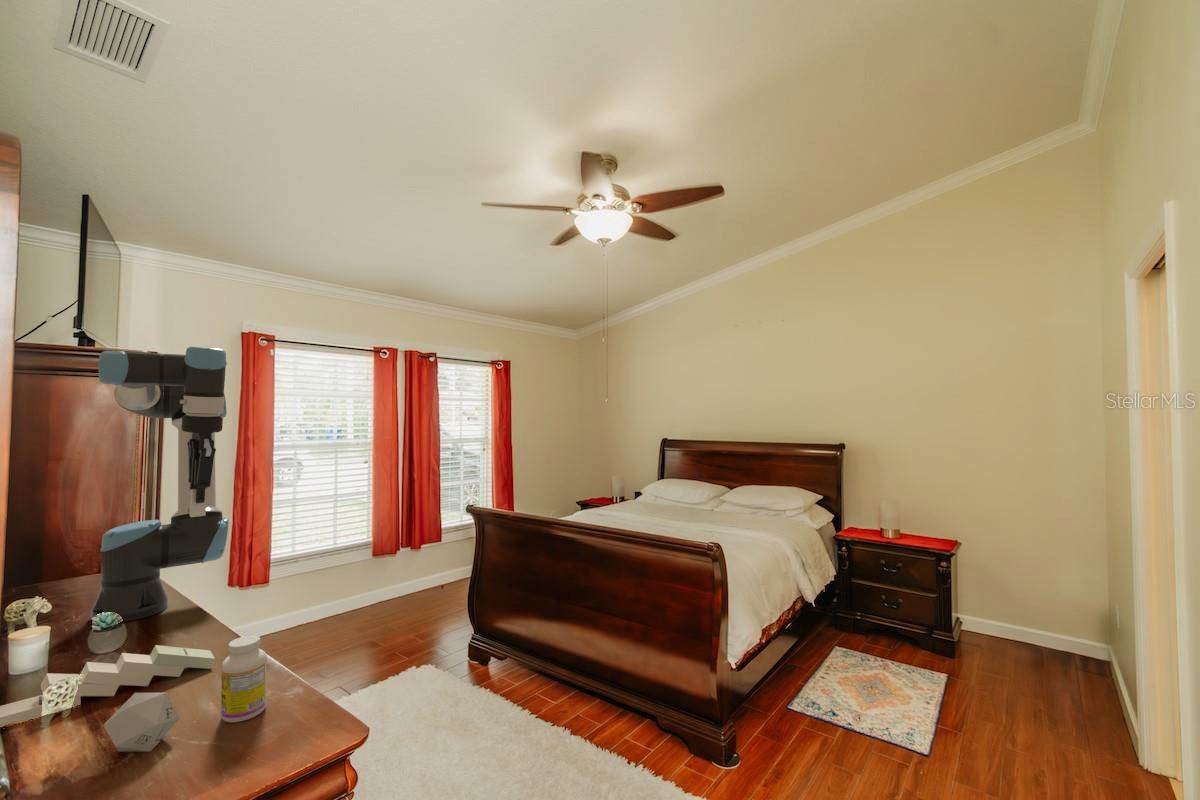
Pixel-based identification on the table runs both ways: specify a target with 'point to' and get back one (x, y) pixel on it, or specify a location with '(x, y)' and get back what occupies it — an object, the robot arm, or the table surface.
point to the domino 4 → (182, 657)
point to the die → (141, 722)
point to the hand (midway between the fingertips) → (197, 515)
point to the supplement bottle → (243, 680)
